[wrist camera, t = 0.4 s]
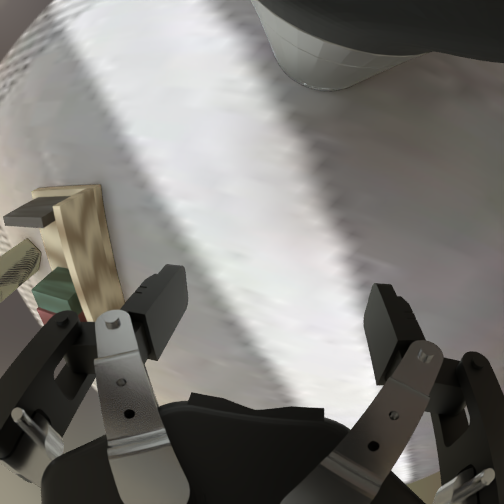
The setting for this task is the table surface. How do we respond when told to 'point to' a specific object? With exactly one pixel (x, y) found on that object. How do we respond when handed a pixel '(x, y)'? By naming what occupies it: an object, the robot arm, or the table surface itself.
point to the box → (17, 267)
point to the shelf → (72, 251)
